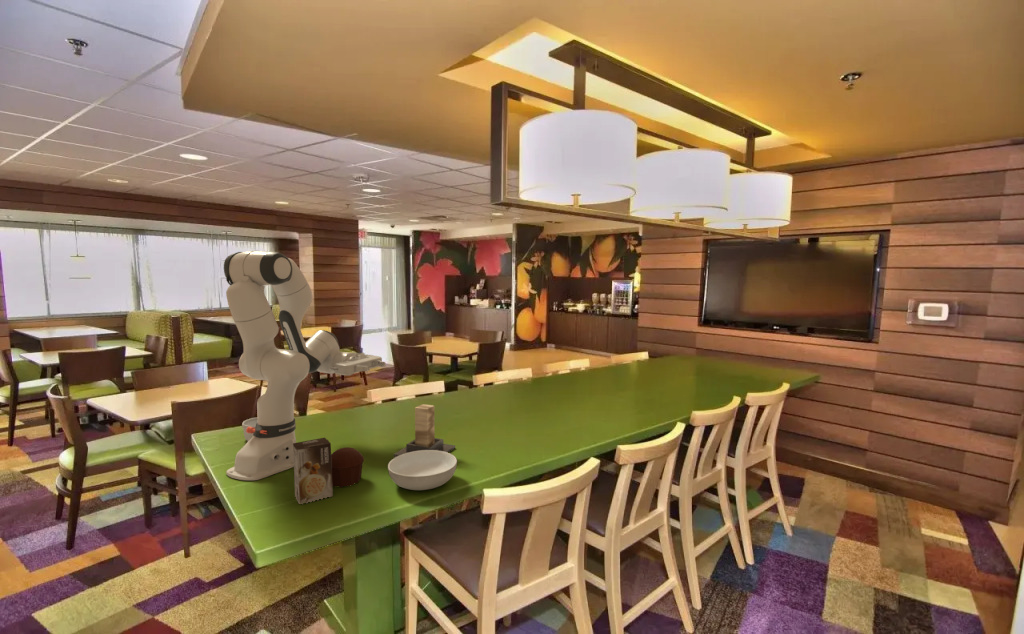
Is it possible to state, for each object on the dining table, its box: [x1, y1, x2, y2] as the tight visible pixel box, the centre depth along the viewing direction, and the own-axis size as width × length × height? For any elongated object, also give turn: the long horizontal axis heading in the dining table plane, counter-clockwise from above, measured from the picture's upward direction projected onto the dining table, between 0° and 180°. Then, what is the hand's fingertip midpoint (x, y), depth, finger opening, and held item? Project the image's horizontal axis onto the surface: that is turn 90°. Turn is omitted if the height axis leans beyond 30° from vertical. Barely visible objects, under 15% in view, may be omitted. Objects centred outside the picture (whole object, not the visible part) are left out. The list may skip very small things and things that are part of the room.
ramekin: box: [241, 417, 258, 442], centre depth 181 cm, size 13×13×7 cm
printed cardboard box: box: [293, 437, 334, 505], centre depth 132 cm, size 9×6×16 cm
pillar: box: [414, 403, 436, 447], centre depth 167 cm, size 5×5×16 cm
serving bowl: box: [387, 450, 458, 491], centre depth 142 cm, size 21×21×7 cm
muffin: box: [331, 447, 365, 488], centre depth 143 cm, size 12×11×10 cm
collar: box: [393, 437, 456, 458], centre depth 168 cm, size 16×16×4 cm
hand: (376, 366), depth 173 cm, fingers open, 8 cm apart
